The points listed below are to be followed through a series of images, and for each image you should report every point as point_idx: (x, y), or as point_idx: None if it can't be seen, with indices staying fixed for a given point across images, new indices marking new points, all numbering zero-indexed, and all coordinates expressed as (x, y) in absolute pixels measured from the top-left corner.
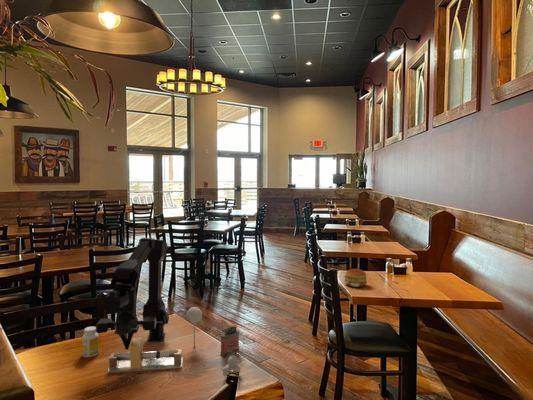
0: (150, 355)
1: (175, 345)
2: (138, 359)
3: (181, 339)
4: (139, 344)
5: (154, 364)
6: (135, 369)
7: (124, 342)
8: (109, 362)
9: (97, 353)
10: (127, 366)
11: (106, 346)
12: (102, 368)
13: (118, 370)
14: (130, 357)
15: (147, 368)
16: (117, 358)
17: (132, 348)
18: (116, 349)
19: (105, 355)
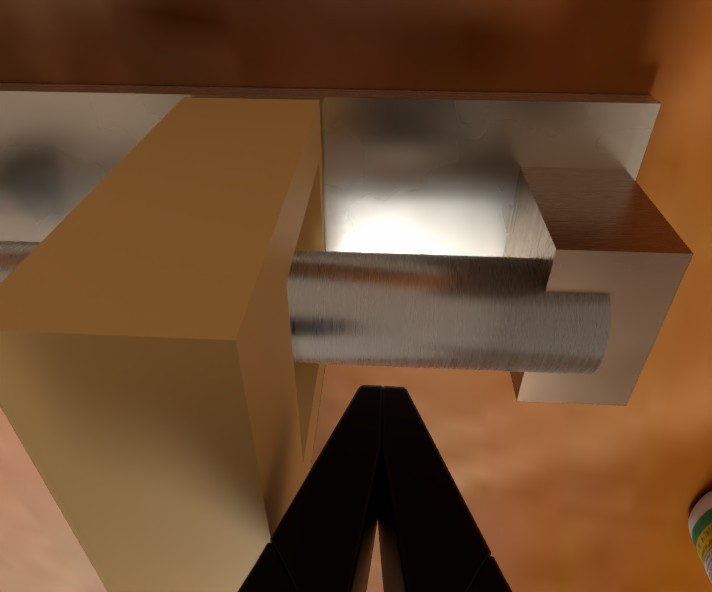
0: (1, 262)
1: (38, 516)
2: (152, 154)
3: (36, 573)
4: (9, 391)
5: (33, 197)
6: (248, 94)
7: (435, 515)
8: (658, 214)
9: (703, 505)
10: (379, 202)
11: (603, 580)
12: (695, 237)
13: (495, 100)
14: (289, 178)
15: (79, 94)
16: (535, 270)
17: (195, 291)
18: (523, 537)
19: (625, 474)
